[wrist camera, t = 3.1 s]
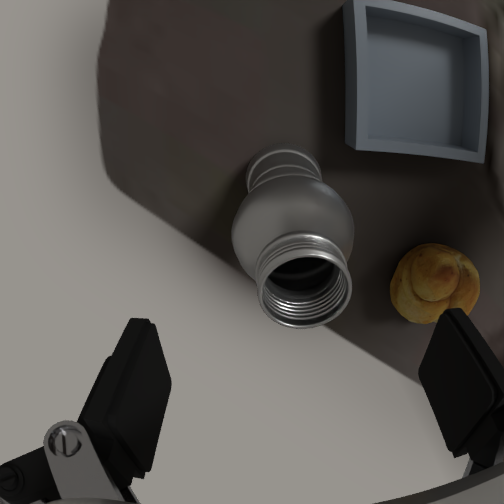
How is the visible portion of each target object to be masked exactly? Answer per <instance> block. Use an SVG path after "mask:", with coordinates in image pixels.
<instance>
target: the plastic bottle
mask: <svg viewBox="0 0 504 504" xmlns="http://www.w3.org/2000/svg"><path fill="white" fill-rule="evenodd" d="M246 185H247V190H248V193H249V194H248V195H247V196H246V197H245V199H244V200H243V201H242V203H241V205H240V207H239V209H238V211H237V213H236V215H235V217H234V220H233V225H232V244H233V248H234V251H235V254H236V256H237V258H238V260H239V262H240V264H241V266H242V268H243V269H244V270H245V271H246V273H247V274H248V275H249V276H250V277H252V278H253V279H254V280H255V281H256V284H257V287H258V288H257V294H258V299H259V303H260V305H261V307H262V309H263V311H264V312H265V313H266V315H267V316H268V317H269V318H271V319H272V320H273V321H275V322H277V323H278V324H280V325H283V326H286V327H290V328H296V329H298V328H299V329H306V328H313V327H317V326H320V325H323V324H325V323H328V322H330V321H331V320H333V319H334V318H336V317H337V316H338V315H339V314H340V313H341V312H342V311H343V310H344V309H345V307H346V306H347V305H348V302H349V300H350V298H351V293H352V280H351V277H350V273H349V271H348V269H347V261H348V259H349V257H350V254H351V252H352V248H353V242H354V222H353V218H352V215H351V212H350V210H349V208H348V206H347V204H346V203H345V201H344V200H343V199H342V198H341V197H340V196H339V195H338V194H337V193H336V192H335V191H334V190H333V189H332V188H331V187H329V186H328V185H327V184H325V183H323V182H322V175H321V169H320V167H319V164H318V162H317V161H316V159H315V157H314V156H313V155H312V154H311V153H310V152H308V151H307V150H306V149H304V148H302V147H300V146H298V145H294V144H290V143H279V144H273V145H270V146H268V147H266V148H264V149H262V150H261V151H259V152H258V153H257V154H256V155H255V156H254V157H253V159H252V160H251V161H250V163H249V165H248V168H247V172H246Z"/></svg>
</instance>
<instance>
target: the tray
mask: <svg viewBox="0 0 504 504" xmlns="http://www.w3.org/2000/svg"><path fill="white" fill-rule="evenodd" d="M342 10H343V26H344V48H345V144H347V145H349V146H350V147H352V148H354V149H355V150H366V151H381V152H394V153H405V154H415V155H424V156H433V157H441V158H449V159H457V160H463V161H470V162H477V163H483V164H484V158H485V150H486V139H487V126H488V107H489V64H488V46H487V33H486V29H484V28H481V27H479V26H476V25H473V24H471V23H468V22H465V21H463V20H460V19H457V18H454V17H451V16H448V15H445V14H441V13H438V12H435V11H431V10H428V9H424V8H421V7H417V6H413V5H409V4H405V3H400V2H396V1H391V0H347V1H346V2H345V3H344V4H343V5H342Z"/></svg>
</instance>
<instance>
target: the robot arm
mask: <svg viewBox="0 0 504 504" xmlns="http://www.w3.org/2000/svg"><path fill="white" fill-rule="evenodd" d="M418 375H419V379H420V381H421V383H422V386H423V388H424V390H425V392H426V395H427V397H428V400H429V402H430V405H431V407H432V409H433V412H434V414H435V417H436V419H437V422H438V425H439V427H440V430H441V432H442V435H443V438H444V440H445V443H446V446H447V448H448V450H449V451H451V452H452V453H453V456H454V458H456V457H459V456H462V455H465V454H467V453H468V454H469V456H470V458H469V461H468V464H467V467H466V469H465V472H464V475H463V477H462V479H459V480H457V481H454V482H451V483H448V484H445V485H442V486H439V487H436V488H433V489H430V490H426V491H423V492H419V493H416V494H412V495H408V496H405V497H401V498H396V499H392V500H388V501H383V502H379V503H374V504H504V369H503V367H502V365H501V364H500V362H499V361H498V359H497V358H496V356H495V355H494V353H493V352H492V350H491V349H490V347H489V346H488V344H487V343H486V341H485V340H484V338H483V337H482V336H481V334H480V333H479V331H478V330H477V328H476V327H475V326H474V324H473V323H472V322H471V320H470V319H469V317H468V316H467V315H466V313H465V312H464V311H463V310H462V309H461V308H450V309H445V310H444V312H443V314H441V315H440V316H439V319H438V321H437V324H436V327H435V330H434V332H433V335H432V338H431V340H430V343H429V345H428V348H427V350H426V353H425V355H424V358H423V360H422V362H421V365H420V367H419V371H418ZM170 391H171V377H170V374H169V371H168V367H167V364H166V361H165V357H164V354H163V350H162V347H161V344H160V340H159V336H158V333H157V329H156V326H155V324H153V323H150V321H149V319H143V318H131V319H130V320H129V322H128V324H127V326H126V328H125V330H124V332H123V334H122V336H121V338H120V340H119V342H118V344H117V346H116V348H115V350H114V352H113V354H112V356H109V357H108V358H107V359H106V360H105V362H104V364H103V366H102V368H101V370H100V372H99V374H98V377H97V379H96V381H95V383H94V385H93V387H92V389H91V391H90V394H89V396H88V398H87V400H86V402H85V405H84V407H83V409H82V411H81V414H80V416H79V418H78V421H77V422H74V421H61V422H58V423H56V424H54V425H53V426H52V427H51V428H50V429H49V430H48V431H47V433H46V435H45V437H44V442H43V443H44V446H43V447H41V448H38V449H36V450H34V451H32V452H29V453H27V454H25V455H22V456H20V457H18V458H16V459H13V460H11V461H8V462H6V463H4V464H2V465H1V466H0V504H140V502H139V501H138V499H137V497H136V496H135V494H134V493H133V491H132V489H131V487H130V485H131V483H132V479H133V477H135V478H141V479H144V476H145V472H150V470H151V468H152V464H153V459H154V455H155V451H156V447H157V443H158V439H159V434H160V430H161V426H162V422H163V418H164V414H165V410H166V406H167V403H168V399H169V395H170Z"/></svg>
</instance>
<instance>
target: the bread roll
mask: <svg viewBox="0 0 504 504" xmlns="http://www.w3.org/2000/svg"><path fill="white" fill-rule="evenodd" d="M479 292H480V280H479V275H478V271H477V270H476V268H475V267H474V265H473V263H472V262H471V261H470V259H469V258H468V257H466V256H465V255H464V254H463V253H461V252H460V251H458V250H456V249H454V248H452V247H449V246H446V245H442V244H436V243H427V244H421V245H418V246H417V247H415V248H413V249H412V250H410V251H409V252H408V253H407V254H406V255H405V256H404V257H403V258H402V259H401V260H400V262H399V264H398V266H397V268H396V271H395V273H394V275H393V278H392V280H391V283H390V296H391V302H392V304H393V305H394V307H395V308H396V309H397V311H398V312H399V313H400V314H401V315H402V316H403V317H405V318H406V319H407V320H408V321H411V322H415V323H422V324H427V323H431V322H433V321H434V322H436V323H437V321H438V319H439V316H440V315H441V314H443V312H444V310H445V309H450V308H461V309H462V310H463V311H464V312H465V313H466V315H468V314H469V313H470V311H471V310H472V308H473V306H474V305H475V303H476V301H477V299H478V296H479Z"/></svg>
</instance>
